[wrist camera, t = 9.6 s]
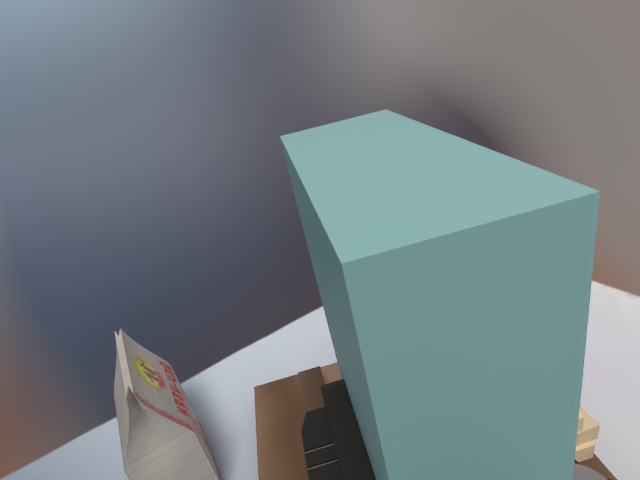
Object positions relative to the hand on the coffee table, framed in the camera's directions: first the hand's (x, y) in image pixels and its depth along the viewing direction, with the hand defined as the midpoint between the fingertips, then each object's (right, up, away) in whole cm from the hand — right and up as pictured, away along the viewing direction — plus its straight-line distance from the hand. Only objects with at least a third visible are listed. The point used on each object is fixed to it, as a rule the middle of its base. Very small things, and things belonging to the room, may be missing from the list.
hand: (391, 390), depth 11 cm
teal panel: (+2, -9, +2) cm, 9 cm away
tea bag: (-11, -11, +16) cm, 22 cm away
